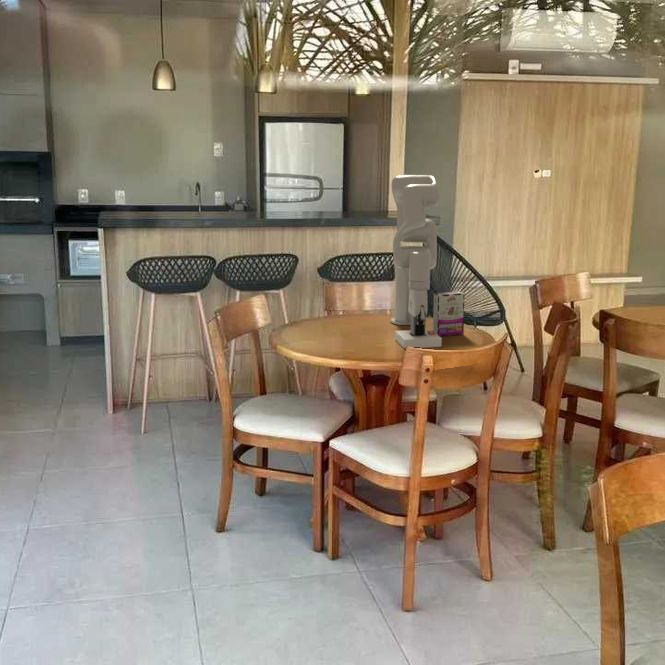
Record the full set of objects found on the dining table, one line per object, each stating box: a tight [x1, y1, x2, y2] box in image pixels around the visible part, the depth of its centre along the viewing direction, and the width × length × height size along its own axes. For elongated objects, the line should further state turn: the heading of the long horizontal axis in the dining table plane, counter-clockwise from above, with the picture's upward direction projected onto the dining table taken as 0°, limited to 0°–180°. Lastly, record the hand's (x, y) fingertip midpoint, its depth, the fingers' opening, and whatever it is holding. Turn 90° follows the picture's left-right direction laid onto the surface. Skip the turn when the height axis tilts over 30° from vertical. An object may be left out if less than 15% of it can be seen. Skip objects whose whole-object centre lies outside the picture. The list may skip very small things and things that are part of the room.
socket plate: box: [394, 328, 443, 349], centre depth 284 cm, size 14×14×4 cm
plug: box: [410, 315, 427, 336], centre depth 283 cm, size 4×4×11 cm
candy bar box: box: [432, 291, 465, 337], centre depth 295 cm, size 11×5×16 cm, turn 106°
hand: (417, 333), depth 284 cm, fingers closed on plug, 3 cm apart
